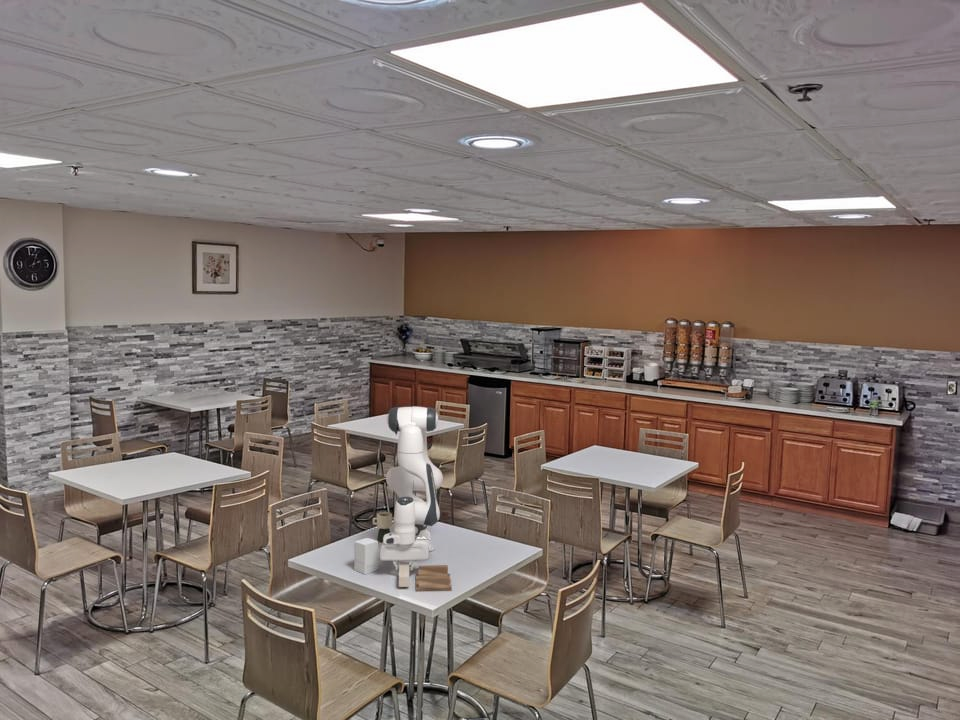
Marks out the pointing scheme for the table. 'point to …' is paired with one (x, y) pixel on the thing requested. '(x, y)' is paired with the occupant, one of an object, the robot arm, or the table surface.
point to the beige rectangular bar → (404, 574)
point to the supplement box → (366, 555)
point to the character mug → (383, 523)
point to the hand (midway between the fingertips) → (404, 570)
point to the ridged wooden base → (433, 578)
